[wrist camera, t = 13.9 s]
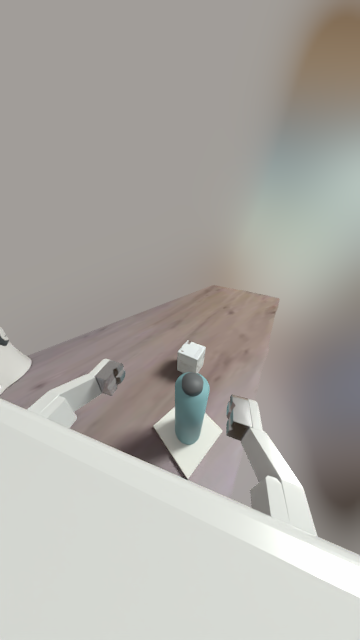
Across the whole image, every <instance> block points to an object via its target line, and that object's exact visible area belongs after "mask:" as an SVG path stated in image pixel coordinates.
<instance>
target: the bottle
mask: <svg viewBox="0 0 360 640" xmlns="http://www.w3.org/2000/svg"><path fill="white" fill-rule="evenodd" d="M208 395H209V384H208V382H207V380H206V379H205V378H204V377H203V376H202V375H200V374H198V373H194V372H187V373H184V374H182V375H181V376H179V377H178V379H177V381H176V383H175V433H176V436H177V438H178V440H179V441H180V442H182V443H183V444H186V445H191V444H194V443H195V442H196V441H197V440H198V439H199V437H200V433H201V428H202V424H203V419H204V414H205V409H206V404H207V400H208Z"/></svg>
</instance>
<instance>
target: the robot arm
mask: <svg viewBox="0 0 360 640" xmlns="http://www.w3.org/2000/svg"><path fill="white" fill-rule="evenodd" d="M30 366H31V359H30V358H29V357H27V356H25V355H24V354H22V353H21V352H20V351H19V350H17V349H16V348H15V347H14V346H13V345H12V344H11V343H10V342H9V339H8V336H7V335H6V333H5V332H4V330H3V329H2V328H1V327H0V394H1V393H2V392H3V391H4V390H5V389H6V388H7V387H8V386H10V385H11V384H13V383H14V382H15V381H17V380H18V379H19V378H21V377H22V376H23V375H24V374H25V373H26V372H27V371H28V369H29V368H30ZM123 367H124V366H123V364H122V363H118V362H115V361H112V360H108V359H104V360H102V361H101V362H100V363H99V364H98V365H97V366H96V367H95V368H94V369H93V370H92V371H91V372H90V373H89V374H88V375H87V374H86V375H84V376H81V377H79V378H77V379H75V380H72V381H70V382H68V383H66V384H63V385H61V386H59V387H57V388H54V389H52V390H50V391H48V392H47V393H46V394H45V395H43V396H42V397H41V398H40V399H39V400H38V401H37V402H35V403H34V404H33V405H32V406H31V407H30V408H28V409H27V410H26V409H24V408H21V407H19V406H17V405H14V404H12V403H10V402H8V401H5V400H3V399H1V398H0V640H360V555H358V554H356V553H353V552H351V551H349V550H347V549H344V548H342V547H340V546H337V545H335V544H333V543H331V542H328V541H326V540H324V539H321V538H319V537H317V533H316V531H315V526H314V523H313V520H312V516H311V513H310V510H309V506H308V503H307V499H306V496H305V493H304V489H303V487H302V486H301V484H300V483H299V481H298V480H297V478H296V477H295V475H294V474H293V472H292V471H291V469H290V468H289V466H288V465H287V463H286V462H285V461H284V459H283V457H282V456H281V454H280V453H279V451H278V450H277V448H276V447H275V445H274V444H273V442H272V441H271V439H270V438H269V437H268V435H267V434H266V432H264V431H263V429H262V424H261V419H260V413H259V408H258V403H257V402H256V401H253V400H250V399H247V398H243V397H239V396H236V395H231V397H230V401H229V402H228V406H227V418H228V421H227V436H229V437H232V438H234V439H237V440H240V441H241V444H242V446H243V448H244V450H245V452H246V455H247V457H248V459H249V461H250V463H251V466H252V468H253V470H254V472H255V474H256V477H257V479H258V481H259V483H258V484H257V485H256V486H255V487H253V488H252V489H251V490H250V493H251V506H252V508H250V507H248V506H246V505H243V504H241V503H239V502H237V501H234V500H232V499H230V498H228V497H225V496H223V495H221V494H218V493H216V492H214V491H212V490H209V489H207V488H205V487H202V486H200V485H198V484H195V483H193V482H191V481H189V480H186V479H184V478H182V477H179V476H177V475H175V474H173V473H170V472H168V471H166V470H163V469H161V468H159V467H157V466H154V465H152V464H150V463H147V462H145V461H143V460H140V459H138V458H136V457H134V456H131V455H129V454H127V453H124V452H122V451H120V450H118V449H115V448H113V447H111V446H108V445H106V444H104V443H102V442H99V441H97V440H95V439H92V438H90V437H88V436H85V435H83V434H81V433H79V432H76V431H74V430H72V429H69V428H70V427H71V425H72V424H73V423H74V422H75V420H76V419H77V416H76V414H75V413H74V411H76V410H77V409H79V408H80V407H82V406H83V405H85V404H87V403H88V402H90V401H91V400H93V399H94V398H96V397H97V396H99V395H100V394H102V393H104V394H107V395H110V396H112V395H113V393H114V392H115V391H116V389H117V385H118V384H120V383H121V382H122V381H123V379H124V377H125V370H124V369H123Z"/></svg>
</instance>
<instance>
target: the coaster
mask: <svg viewBox="0 0 360 640" xmlns="http://www.w3.org/2000/svg"><path fill="white" fill-rule="evenodd" d="M154 429H155V430H156V432H157V433H158V435H159V436H160V438H161V439H162V441H163V443H164V444H165V446H166V447H167V449H168V450H169V452H170V453H171V455H172V457H173V458H174V460H175V461H176V463H177V464H178V466H179V467H180V469H181V471H182V472H183V474H184V475H185V477H186V478H187V480H188V479H189V478H190V476H191V475H192V473H193V472H194V471H195V469H196V468H197V466H198V465H199V464H200V462H201V461H202V460H203V458H204V457H205V455H206V454H207V453H208V451H209V450H210V448H211V447H212V446H213V444H214V443H215V442H216V440H217V439H218V437H219V436H220V435H221V433H222V432H223V431H222V430H221V429H220V428H219V427H218V425H217V424H216V423H215V422H214V421H213V420H212V419H211V418H210V417H209V416H208V415H207V414H206V413H205V414H204V419H203V424H202V428H201V433H200V437H199V439H198V440H197V441H196V442H195V443H194V444H191V445H186V444H183V443H182V442H180V441H179V440H178V438H177V436H176V433H175V407H174V408H173V409H172V410H171V411H170V412H168V413H167V414H166V415H165V416H164V417H163V418H162V419H161V420H159V421H158V422H157V423H156V424H155V425H154Z"/></svg>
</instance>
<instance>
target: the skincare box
mask: <svg viewBox="0 0 360 640" xmlns="http://www.w3.org/2000/svg"><path fill="white" fill-rule="evenodd" d="M205 349H206V347H204V346H201V345H199V344H196V343H193V342H190V341H187V342H186V343H185V344H184V345H183V346H182V347H181V349H180V350H179V351H178V357H177V370H178V371H180V372H182V373H187V372H194V373H198V372H199V370H200V369H201V367H202V366H203V361H204V355H205Z"/></svg>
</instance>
